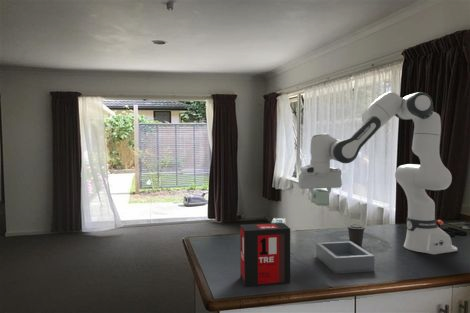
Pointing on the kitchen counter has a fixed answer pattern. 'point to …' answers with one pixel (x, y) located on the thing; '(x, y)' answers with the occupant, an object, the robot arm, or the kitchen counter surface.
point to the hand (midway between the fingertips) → (320, 197)
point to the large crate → (344, 257)
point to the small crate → (321, 197)
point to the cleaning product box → (264, 254)
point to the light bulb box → (279, 220)
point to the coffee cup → (356, 234)
